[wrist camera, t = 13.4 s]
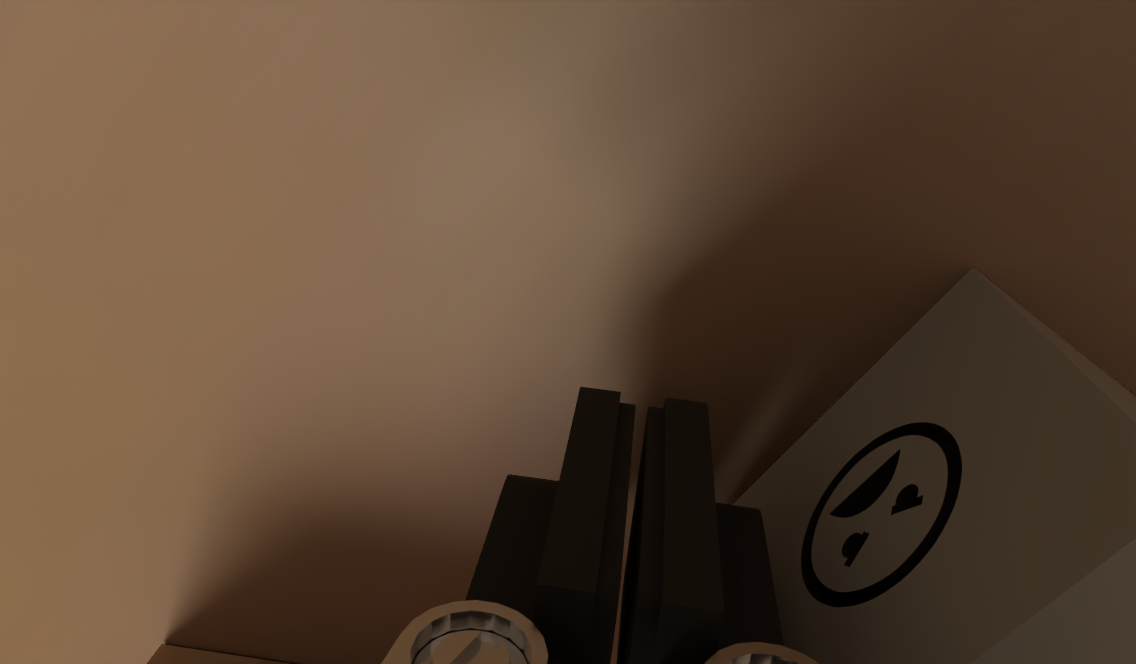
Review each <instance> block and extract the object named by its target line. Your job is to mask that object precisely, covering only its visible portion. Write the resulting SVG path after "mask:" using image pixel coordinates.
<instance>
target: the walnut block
mask: <svg viewBox="0 0 1136 664" xmlns="http://www.w3.org/2000/svg"><path fill="white" fill-rule="evenodd" d="M147 664H289V663H283V662H276V661H270V660H263V659H256V658H250V657H243V656H237V655H230V654H223V653H217V652H210V651H204V650H197V649H191V648H184V647H177V646H171V645H164V644H161V646H160V647H159V648H158V650H157V651H156V652H155V654H154V655H153V656H152V658H151V659H150V660H149V661H148V663H147Z"/></svg>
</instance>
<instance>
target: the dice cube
mask: <svg viewBox="0 0 1136 664" xmlns="http://www.w3.org/2000/svg"><path fill="white" fill-rule="evenodd" d="M732 505H736V506H743V507H750V508H758V509H759V510H760V511H761V515H762V518H763V524H764V530H765V536H766V542H767V548H768V554H769V560H770V566H771V572H772V578H773V584H774V590H775V596H776V602H777V608H778V614H779V620H780V626H781V632H782V638H783V644H784V647H787V648H789V649H792V650H795V651H798V652H800V653H803V654H805V655H806V656H808V657H810V658H811V659H813V660H815V661H816V662H818V663H819V664H1136V396H1134V395H1133V394H1132V393H1131V392H1129V391H1128V390H1127V389H1125V388H1124V387H1123V386H1122V385H1120V384H1119V383H1118V382H1117V381H1115V380H1114V379H1113V378H1112V377H1110V376H1109V375H1108V374H1107V373H1105V372H1104V371H1103V370H1102V369H1100V368H1099V367H1098V366H1097V365H1095V364H1094V363H1093V362H1092V361H1090V360H1089V359H1088V358H1086V357H1085V356H1084V355H1083V354H1081V353H1080V352H1079V351H1078V350H1076V349H1075V348H1074V347H1073V346H1071V345H1070V344H1069V343H1068V342H1066V341H1065V340H1064V339H1063V338H1061V337H1060V336H1059V335H1058V334H1056V333H1055V332H1054V331H1053V330H1051V329H1050V328H1049V327H1048V326H1046V325H1045V324H1044V323H1042V322H1041V321H1040V320H1039V319H1037V318H1036V317H1035V316H1034V315H1032V314H1031V313H1030V312H1029V311H1027V310H1026V309H1025V308H1024V307H1022V306H1021V305H1020V304H1019V303H1017V302H1016V301H1015V300H1014V299H1012V298H1011V297H1010V296H1009V295H1007V294H1006V293H1005V292H1004V291H1002V290H1001V289H1000V288H998V287H997V286H996V285H995V284H993V283H992V282H991V281H990V280H988V279H987V278H986V277H985V276H983V275H982V274H981V273H980V272H978V271H977V270H976V269H975V268H973V267H972V268H971V269H970V270H969V271H968V272H967V273H966V274H965V275H964V276H963V277H962V278H961V279H960V280H959V281H958V282H957V283H956V284H955V285H954V286H953V287H952V288H951V289H950V290H949V291H948V292H947V293H946V294H945V295H944V296H943V297H942V298H941V299H940V300H939V301H938V302H937V303H936V304H935V305H934V306H933V307H932V308H931V309H930V310H929V311H928V312H927V313H926V314H925V315H924V316H923V317H922V318H921V319H920V320H919V321H918V322H917V323H916V324H915V325H914V326H913V327H912V328H911V329H910V330H909V331H908V332H907V333H906V334H905V335H903V336H902V337H901V338H900V339H899V340H898V341H897V342H896V343H895V344H894V345H893V346H892V347H891V348H890V349H889V350H888V351H887V352H886V353H885V354H884V355H883V356H882V357H881V358H880V359H879V360H878V361H877V362H876V363H875V364H874V365H873V366H872V367H871V368H870V369H869V370H868V371H867V372H866V373H865V374H864V375H863V376H862V377H861V378H860V379H859V380H858V381H857V382H856V383H855V384H854V385H853V386H852V387H851V388H850V389H849V390H848V391H847V392H846V393H845V394H844V395H843V396H842V397H841V398H840V399H839V400H838V401H837V402H836V403H835V404H834V405H833V406H832V407H831V408H830V409H828V410H827V411H826V412H825V413H824V414H823V415H822V416H821V417H820V418H819V419H818V420H817V421H816V422H815V423H814V424H813V425H812V426H811V427H810V428H809V429H808V430H807V431H806V432H805V433H804V434H803V435H802V436H801V437H800V438H799V439H798V440H797V441H796V442H795V443H794V444H793V445H792V446H791V447H790V448H789V449H788V450H787V451H786V452H785V453H784V454H783V455H782V456H781V457H780V458H779V459H778V460H777V461H776V462H775V463H774V464H773V465H772V466H771V467H770V468H769V469H768V470H767V471H766V472H765V473H764V474H763V475H762V476H761V477H760V478H759V479H758V480H757V481H756V482H754V483H753V484H752V485H751V486H750V487H749V488H748V489H747V490H746V491H745V492H744V493H743V494H742V495H741V496H740V497H739V498H738V499H737V500H736V501H735V502H734V503H733V504H732Z"/></svg>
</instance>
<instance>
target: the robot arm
mask: <svg viewBox="0 0 1136 664" xmlns="http://www.w3.org/2000/svg"><path fill="white" fill-rule="evenodd" d="M620 395H621V392H616V391H609V390H601V389H593V388H585V387H580V391H579V395H578V400H577V404H576V408H575V413H574V417H573V422H572V426H571V431H570V435H569V440H568V444H567V448H566V453H565V457H564V462H563V466H562V471H561V475H560V480H559V481H554V480H547V479H539V478H532V477H525V476H517V475H510V474H509V475H508V476H507V478H506V480H505V483H504V486H503V489H502V492H501V495H500V498H499V501H498V504H497V507H496V510H495V513H494V516H493V519H492V522H491V525H490V528H489V531H488V534H487V537H486V540H485V543H484V546H483V549H482V552H481V555H480V558H479V561H478V564H477V567H476V570H475V573H474V576H473V579H472V582H471V585H470V588H469V591H468V594H467V597H466V600H465V601H455V602H450V603H447V604H444V605H440V606H437V607H434V608H431V609H430V610H428V611H426V612H425V613H423V614H421V615H420V616H418V617H416V618H415V619H413V621H412V622H411V623H410V624H409V625H408V626H407V627H406V628H405V629H404V630H403V632H402V633H401V634H400V635H399V637H398V638H397V640H396V642H395V643H394V645H393V646H392V648H391V649H390V651H389V652H388V654H387V656H386V657H385V659H384V660H383V662H382V663H381V664H610V660H611V653H612V646H613V638H614V631H615V624H616V616H617V608H618V600H619V591H620V581H621V570H622V558H623V547H624V535H625V524H626V512H627V500H628V489H629V477H630V466H631V454H632V442H633V431H634V419H635V408H636V405H633V404H626V403H620ZM617 664H819V663H818V662H816V661H815V660H813V659H811V658H810V657H808V656H806V655H805V654H803V653H800V652H798V651H795V650H792V649H789V648H787V647H784V644H783V638H782V632H781V626H780V620H779V614H778V608H777V602H776V596H775V590H774V584H773V578H772V572H771V566H770V560H769V554H768V548H767V542H766V536H765V530H764V524H763V518H762V515H761V511H760V510H759V509H758V508H750V507H743V506H736V505H728V504H721V503H716V501H715V489H714V477H713V465H712V452H711V440H710V428H709V416H708V405H707V403H701V402H694V401H686V400H678V399H670V398H665V402H664V408H656V407H648V411H647V417H646V424H645V431H644V438H643V446H642V453H641V460H640V467H639V474H638V481H637V488H636V496H635V503H634V510H633V517H632V524H631V531H630V539H629V546H628V553H627V560H626V567H625V575H624V583H623V592H622V603H621V615H620V627H619V640H618V652H617Z"/></svg>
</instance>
